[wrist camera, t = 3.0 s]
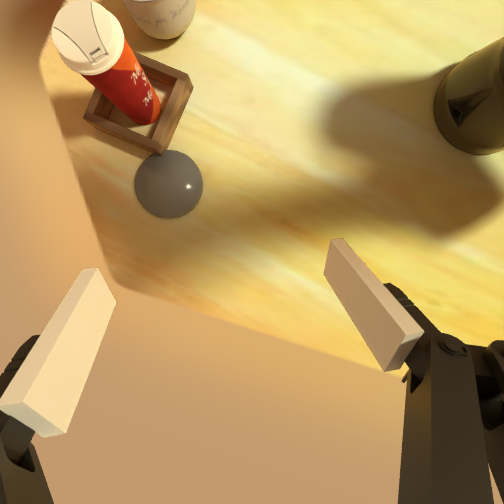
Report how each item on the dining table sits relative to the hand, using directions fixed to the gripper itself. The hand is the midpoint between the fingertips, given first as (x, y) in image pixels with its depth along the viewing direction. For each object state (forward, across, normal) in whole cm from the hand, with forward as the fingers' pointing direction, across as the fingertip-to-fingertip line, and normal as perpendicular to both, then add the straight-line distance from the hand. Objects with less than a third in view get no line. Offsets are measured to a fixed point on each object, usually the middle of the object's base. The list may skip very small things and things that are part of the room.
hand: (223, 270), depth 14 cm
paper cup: (+38, -10, +5) cm, 39 cm away
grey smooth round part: (+29, -7, -5) cm, 30 cm away
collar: (+37, -10, +6) cm, 39 cm away
